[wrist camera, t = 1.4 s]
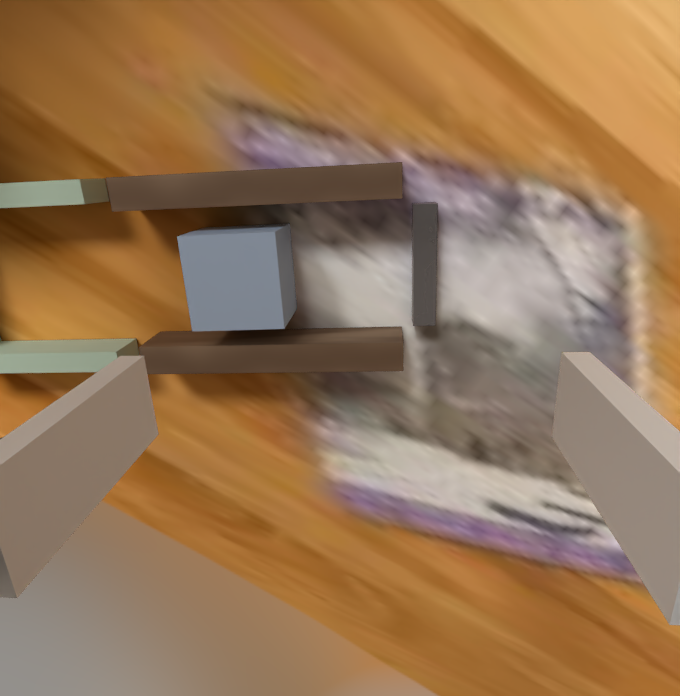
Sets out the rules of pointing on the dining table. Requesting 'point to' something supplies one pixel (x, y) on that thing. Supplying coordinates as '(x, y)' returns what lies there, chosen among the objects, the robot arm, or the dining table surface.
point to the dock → (59, 352)
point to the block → (239, 277)
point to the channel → (270, 344)
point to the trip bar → (424, 263)
